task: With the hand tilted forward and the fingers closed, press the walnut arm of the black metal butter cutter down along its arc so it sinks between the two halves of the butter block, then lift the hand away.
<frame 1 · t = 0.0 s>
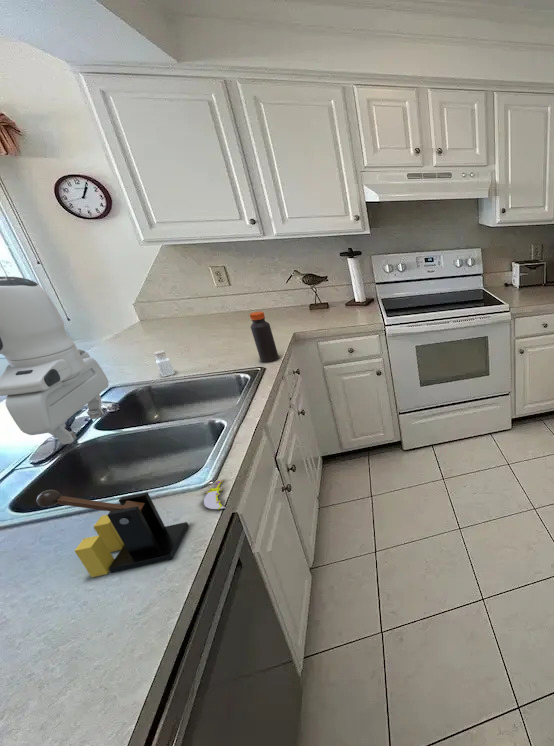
hand: (84, 428, 81), 23 cm above the worktop, tool pointing down, fingers open, 8 cm apart
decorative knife: (217, 496, 96), on the worktop
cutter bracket: (152, 548, 83), on the worktop
butter 1: (104, 569, 78), on the worktop
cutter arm: (91, 504, 76), point 13 cm above the worktop, hinge at 30.0°
bottle: (270, 359, 171), on the worktop
butter 2: (120, 545, 83), on the worktop
pepper shaker: (168, 374, 160), on the worktop
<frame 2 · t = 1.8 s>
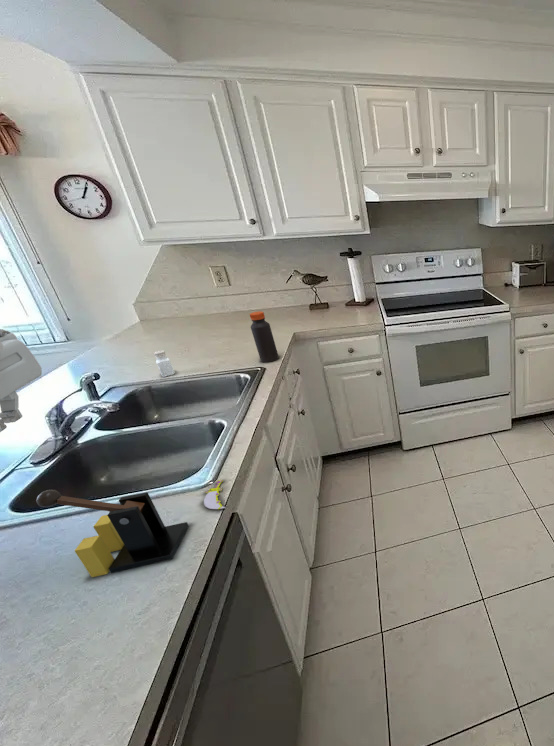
hand: (6, 426, 67), 31 cm above the worktop, tool pointing down, fingers closed
nothing on the worktop moved.
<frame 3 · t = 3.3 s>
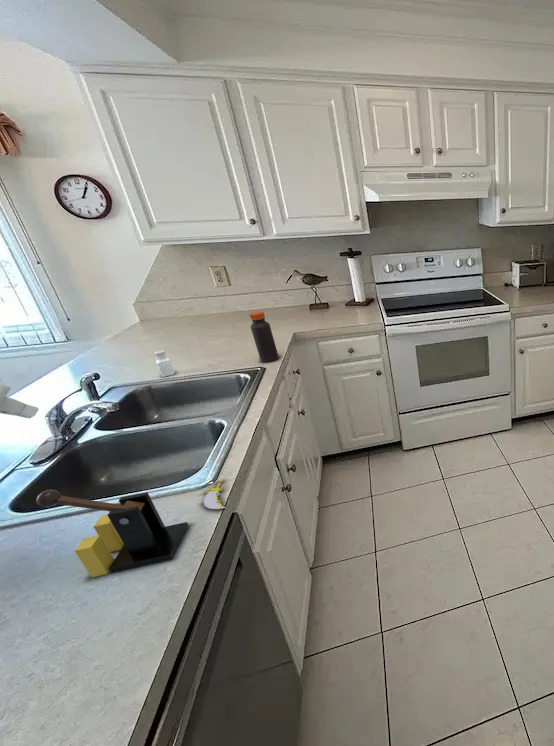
hand: (35, 413, 72), 30 cm above the worktop, tool tilted 45°, fingers closed
nothing on the worktop moved.
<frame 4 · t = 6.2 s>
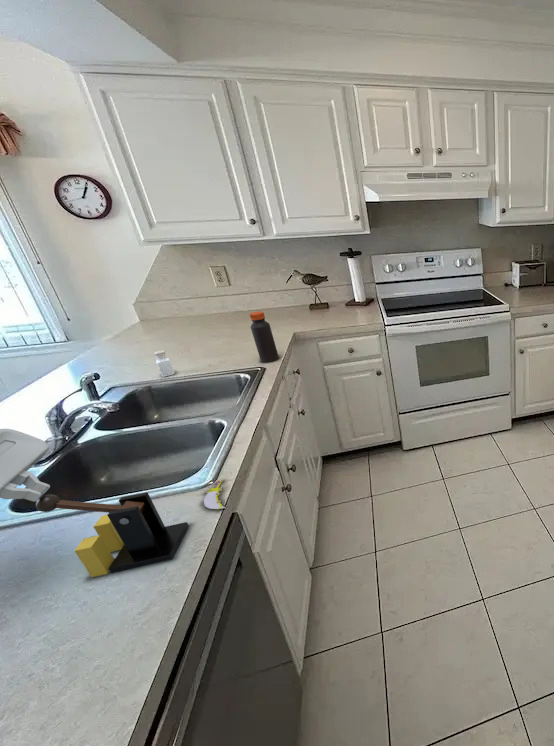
hand: (43, 493, 73), 17 cm above the worktop, tool tilted 45°, fingers closed, pressing on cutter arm
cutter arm: (91, 506, 76), point 13 cm above the worktop, hinge at 24.8°, touching gripper
everything else where it was.
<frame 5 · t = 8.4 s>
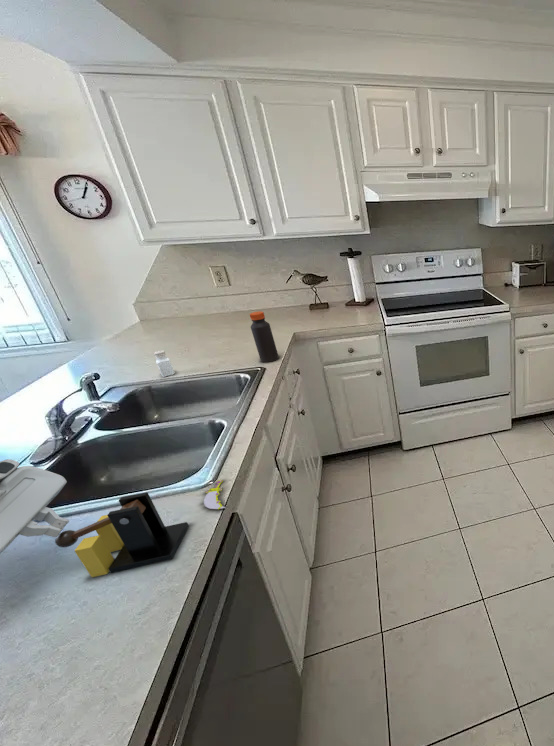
hand: (63, 528, 76), 9 cm above the worktop, tool tilted 45°, fingers closed
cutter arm: (99, 524, 77), point 8 cm above the worktop, hinge at -16.8°, touching gripper
everything else where it was.
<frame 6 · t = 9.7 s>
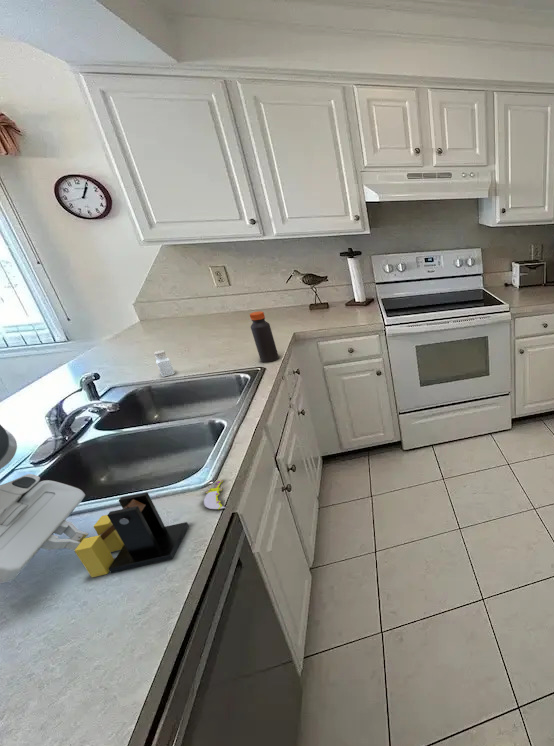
hand: (82, 542, 78), 5 cm above the worktop, tool tilted 45°, fingers closed, pressing on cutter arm
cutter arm: (109, 530, 79), point 6 cm above the worktop, hinge at -36.2°, touching gripper
everything else where it was.
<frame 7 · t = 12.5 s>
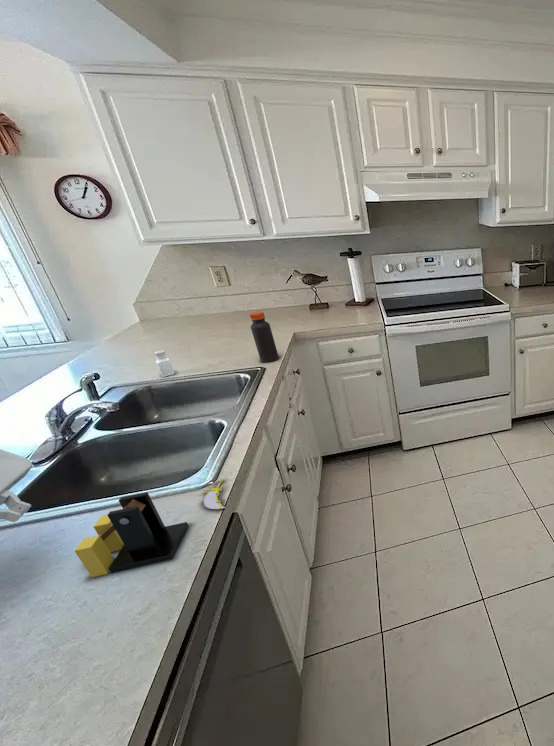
hand: (24, 513, 73), 14 cm above the worktop, tool tilted 45°, fingers closed
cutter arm: (109, 530, 79), point 6 cm above the worktop, hinge at -36.5°
everything else where it was.
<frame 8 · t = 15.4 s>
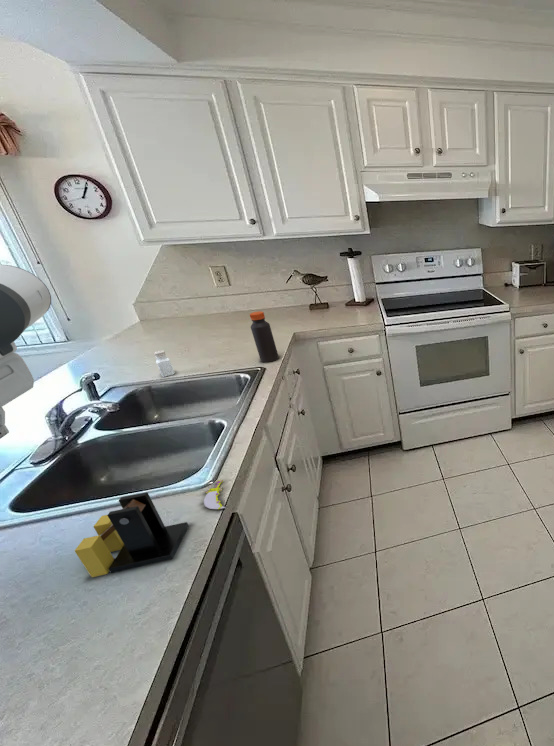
nothing on the worktop moved.
at the end: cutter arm at -36° (first picture: +30°); butter 2 moved 0.0 cm from its start; butter 1 moved 0.0 cm from its start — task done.
